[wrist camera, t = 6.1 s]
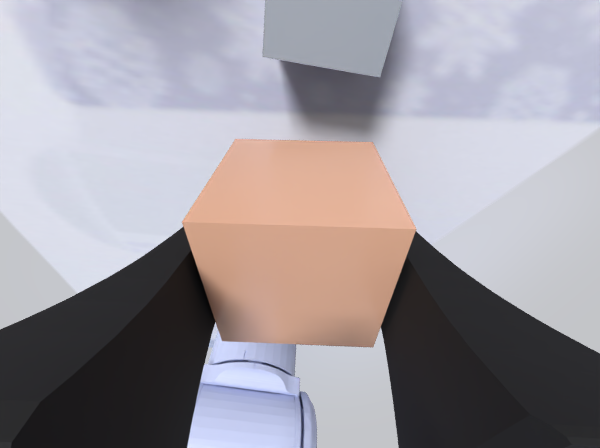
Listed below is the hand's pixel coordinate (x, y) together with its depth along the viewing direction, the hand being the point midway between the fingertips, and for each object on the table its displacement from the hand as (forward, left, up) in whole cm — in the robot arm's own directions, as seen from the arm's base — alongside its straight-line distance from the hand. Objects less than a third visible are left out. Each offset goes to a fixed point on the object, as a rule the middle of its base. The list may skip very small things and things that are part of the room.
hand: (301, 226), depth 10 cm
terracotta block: (0, 0, -2) cm, 2 cm away
